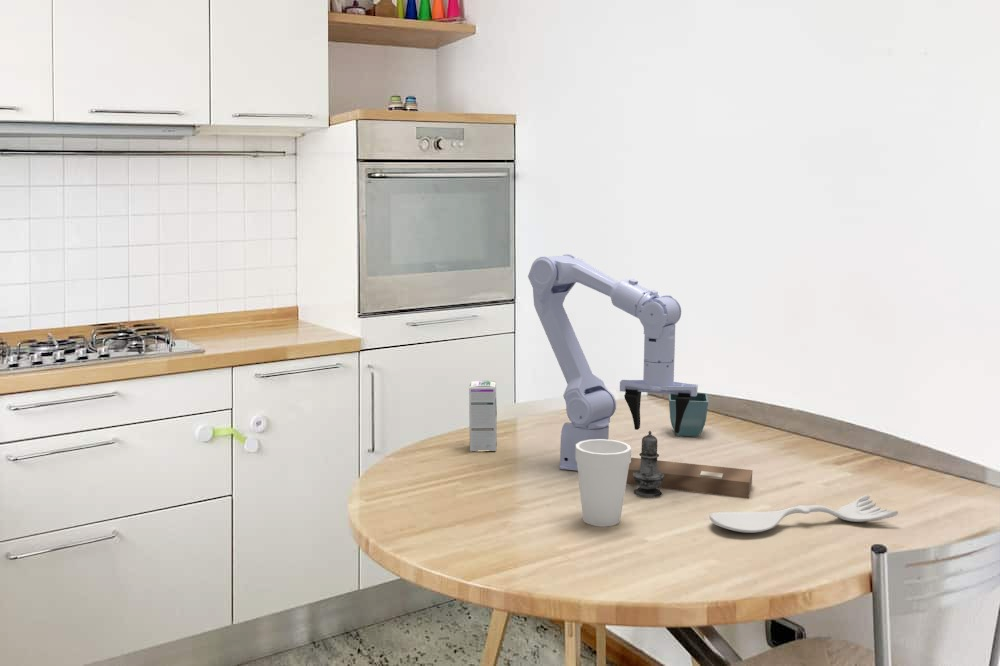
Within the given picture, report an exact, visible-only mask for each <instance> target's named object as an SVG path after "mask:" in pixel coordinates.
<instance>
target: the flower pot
mask: <svg viewBox="0 0 1000 666" xmlns="http://www.w3.org/2000/svg"><path fill="white" fill-rule="evenodd" d="M677 396H678V394H668V405H669V406H668V407H669V419H670V423H671V424H670V425H671V427H672V430H673V432H674V434H675V436H677V437H695V438H696V437H699V436H700V435H701V433H702V432H703V429H704V428H705V426H706V425H705V424H706V423H707V422H706V421H707V415H708V409H709V408H708V407H709V397H708V394H707V393H706V392H697V396H696V397H695V396H692V397H691V399H690V401H689V403H688V405H687V407H686V410H685V412H684V415H683V418H682V422H681V426H680V431H679V433H675V421H676V397H677Z"/></svg>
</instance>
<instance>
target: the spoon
mask: <svg viewBox="0 0 1000 666" xmlns="http://www.w3.org/2000/svg"><path fill="white" fill-rule="evenodd" d="M870 497H871V496H870V495H869V494H865V495H862V496H860V497H859V498H857V499H855V500H853V501H851V502H850V503H847V504H845V505H843V506H840V508H838V510H835V509H833V508H831V507H828V506H826V505H822V504H821V505H820V504H815V505H814V504H813V505H803V504H802V505H801V504H798V505H796V506H792V507H789V508H784V509H780V510H779V509H778V510H773V511H720V512H719V511H717V512H711V513H710V514H709V515H708V516H709V520H710V521H711V523H713V524H714V525H716V526H718V527H721V528H723V529H727V530H730V531H733V532H737V533H744V534H745V533H746V534H751V533H752V534H753V533H762V532H765V531H768V530H771V529H774V527H776V526H777V525H778V524H779V523H780V522H781V521H782V520H783V519H784V518H785V517H787V516H790V515H792V514H804V515H807V514H811V513H816V512H821V513H824V514H825V513H827V514H830V515H832V516H834V517H837V518H839V519H841V520H844V521H848V522H856V523H857V522H858V523H859V522H868V521H877V520H883V519H884V520H885V519H889V518H894V517H896V516H897V515H898V514H899V510H888V509H887V508H883V509H881V506H876V504H877V503H875V502H874V503H872V502H873V499H870ZM875 506H876V507H875Z"/></svg>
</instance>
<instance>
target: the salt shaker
mask: <svg viewBox="0 0 1000 666" xmlns="http://www.w3.org/2000/svg"><path fill="white" fill-rule="evenodd" d="M639 457H640V459H641V465H640V469H639V470H638V471H635V472H633V476H634V480H635V483H636V484H637V485H638V487H637V488H635V489H634V490H633V494H634V495H636V496H638V497H641V498H647V499H648V498H650V499H653V498H659V497H662V495H663V491H661V490H660V489H659V488H658V487H659V486H660V485H661V483H662V481H663V478H664V474H663V473H661V472H659V471H658V469H657V460H658V457H660V454H658V438H657V437H656V436H654V435H653V434H652V431H651V430H649V431H648V434H647V435H644V436H643V437H642V438H641V452H640V453H639ZM637 485H636V486H637Z"/></svg>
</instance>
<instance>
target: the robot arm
mask: <svg viewBox="0 0 1000 666" xmlns="http://www.w3.org/2000/svg"><path fill="white" fill-rule="evenodd" d="M527 278H528V280H529V282H530V285H531V287H532V297H533V306H534V309H535V312H536V314H537V316H538V319H539V321H540V323H541V325H542V328H543V329H544V332H545V334H546V338H547V339H548V342H549V345H550V346H551V348H552V351H553V353H554V356H555V358H556V361H557V363H558V366H559V367H560V370H561V371H562V375H563V377H564V379H565V382H566V384H567V385H566V388H565V390H564V392H563V399H564V401H565V406H566V407H565V408H566V409H565V411H566V416H567V418H568V419H569V421H570V422H567V421H566V422H564V423H563V425H562V428H561V431H560V433H561V434H560V448H559V451H560V452H559V453H560V454H559V455H560V459H559V467H558V469H560V470H569V471H577V472H578V467H577V462H576V458H575V454H576V444H577V443H579V442H581V441H585V440H592V439H606V440H609V437H610V436H609V434H610V433H609V431H610V430H609V428H610V427H609V426H610V423H611V417H613V415H614V414H615V412H616V409H617V401H616V398H615V396H614V394H613V393H612V392H611V391H610V390H609V389H608V388H607V387H606V385H605V383H604V381H603V380H602V379H601V378H600V377H598V376H597V375H594V373H593V372H592V370H591V367H590V365H589V362H588V361H587V358H586V356H585V353H584V350H583V349H582V346H581V344H580V342H579V339H578V337H577V335H576V333H575V331H574V328H573V326H572V323H571V321H570V319H569V316H568V314H567V312H566V309H565V308H564V301H565V300H566V297H567V296H568V294H569V292H570V291H571V290H572V289H573V288H574V286H575V285H576V283H578V284H581V285H583V286H585V287H588V288H590V289H592V290H594V291H596V292H599V293H600V294H603V295H605V296H608V297H609V298H610V299H611V300H610V301H611V303H612V305H613V306H614V307H615V308H618V309H620V310H621V311H623V312H625V313H627V314H629V315H631V316H633V317H634V318H637V319H639V321H640V323H641V325H642V327H643V335H644V341H643V378H642V379H621V380H620V381H619V392H625V393H624V395H623V396H624V400H625V402H626V403H627V406H628V408H629V411H630V414H631V416H632V421H633V426H634V427H633V428H634V430H636V431H639V430H640V428H641V401H642V400H641V397H642V393H647V394H648V393H651V394H665V395H669V394H678V396H677V397H676V421H675V432H674V434H675V433H679V431H680V426H681V422H682V418H683V415H684V412H685V410H686V407H687V405H688V403H689V401H690V399H691V397H692V396H695V397H696V396H697V393H698V387H699V386H698V384H693V383H686V382H677V381H675V355H676V353H675V352H676V351H675V350H676V348H675V347H676V324H678V322H679V321H680V319H681V315H682V307H681V305H680V303H679V301H677V299H676V298H674V297H673V296H672V295H670V294H669V295H667V294H666V295H661V296H660V295H659V291H657V290H654V289H653V290H650V289H648V288H645V287H643V286H641V285H640V284H639V281H638V280H637V279H635V278H630V279H627V278H626V279H621V280H620V281H618V280H616V279H614V278H613V277H611V276H609V275H607V274H606V273H604V272H603V271H600V270H599V269H597V268H596V267H594V266H592V265H591V264H589V263H587V262H586V261H585V260H584V259H582V258H579V257H576V256H574V255H572V254H567V253H566V254H563V255H555V256H554V255H553V256H539V257H537V258H536V259H534V261H533V262H532V264H531V267H530V269H529V273H528V275H527Z"/></svg>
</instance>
